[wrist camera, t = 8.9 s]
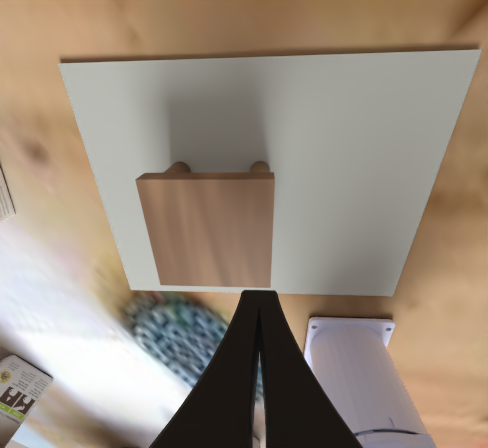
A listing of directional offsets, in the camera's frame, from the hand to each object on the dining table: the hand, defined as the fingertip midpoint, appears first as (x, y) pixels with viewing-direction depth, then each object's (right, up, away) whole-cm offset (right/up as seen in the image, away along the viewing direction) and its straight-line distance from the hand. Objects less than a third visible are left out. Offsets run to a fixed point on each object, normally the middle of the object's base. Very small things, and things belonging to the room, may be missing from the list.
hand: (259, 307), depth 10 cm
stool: (+1, +4, +6) cm, 7 cm away
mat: (0, +5, +8) cm, 10 cm away
